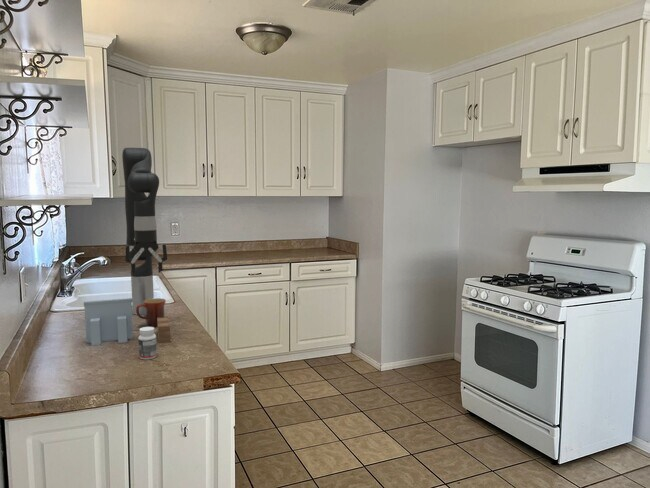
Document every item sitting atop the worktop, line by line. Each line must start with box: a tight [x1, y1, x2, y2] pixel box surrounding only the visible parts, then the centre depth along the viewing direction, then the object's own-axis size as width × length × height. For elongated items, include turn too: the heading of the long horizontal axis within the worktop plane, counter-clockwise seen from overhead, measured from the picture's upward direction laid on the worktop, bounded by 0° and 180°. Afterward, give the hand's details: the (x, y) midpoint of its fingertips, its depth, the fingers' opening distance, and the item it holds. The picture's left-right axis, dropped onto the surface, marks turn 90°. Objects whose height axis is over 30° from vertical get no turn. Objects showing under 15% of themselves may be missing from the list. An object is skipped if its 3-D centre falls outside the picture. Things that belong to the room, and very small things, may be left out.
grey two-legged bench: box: [83, 297, 134, 347], centre depth 183 cm, size 6×16×15 cm, turn 110°
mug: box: [136, 298, 167, 328], centre depth 204 cm, size 12×9×10 cm
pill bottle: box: [138, 326, 158, 361], centre depth 167 cm, size 6×6×10 cm
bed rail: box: [156, 316, 171, 344], centre depth 189 cm, size 14×4×6 cm, turn 20°
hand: (147, 272), depth 181 cm, fingers open, 8 cm apart
